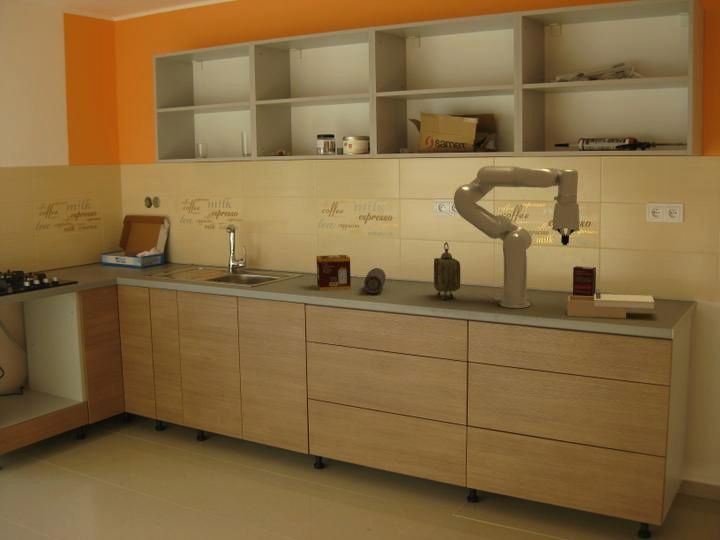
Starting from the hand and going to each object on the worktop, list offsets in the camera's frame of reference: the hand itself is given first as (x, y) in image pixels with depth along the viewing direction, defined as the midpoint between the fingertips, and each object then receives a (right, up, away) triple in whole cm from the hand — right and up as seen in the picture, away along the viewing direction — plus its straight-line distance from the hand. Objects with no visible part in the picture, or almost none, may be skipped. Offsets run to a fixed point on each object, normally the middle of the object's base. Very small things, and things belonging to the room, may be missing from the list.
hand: (564, 244), depth 324 cm
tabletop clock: (-44, -23, +32) cm, 60 cm away
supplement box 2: (+11, -25, +13) cm, 30 cm away
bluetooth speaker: (-76, -20, +52) cm, 94 cm away
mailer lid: (+20, -24, -11) cm, 33 cm away
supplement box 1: (-96, -19, +62) cm, 116 cm away
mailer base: (+11, -28, -7) cm, 31 cm away
